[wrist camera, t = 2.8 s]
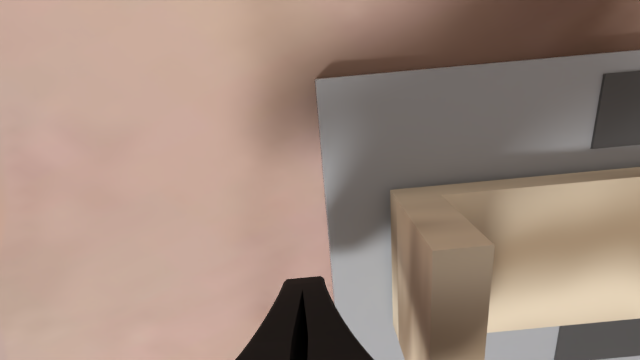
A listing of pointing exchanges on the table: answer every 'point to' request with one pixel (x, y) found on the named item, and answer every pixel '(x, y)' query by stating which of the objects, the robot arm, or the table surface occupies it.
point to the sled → (512, 258)
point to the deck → (468, 170)
